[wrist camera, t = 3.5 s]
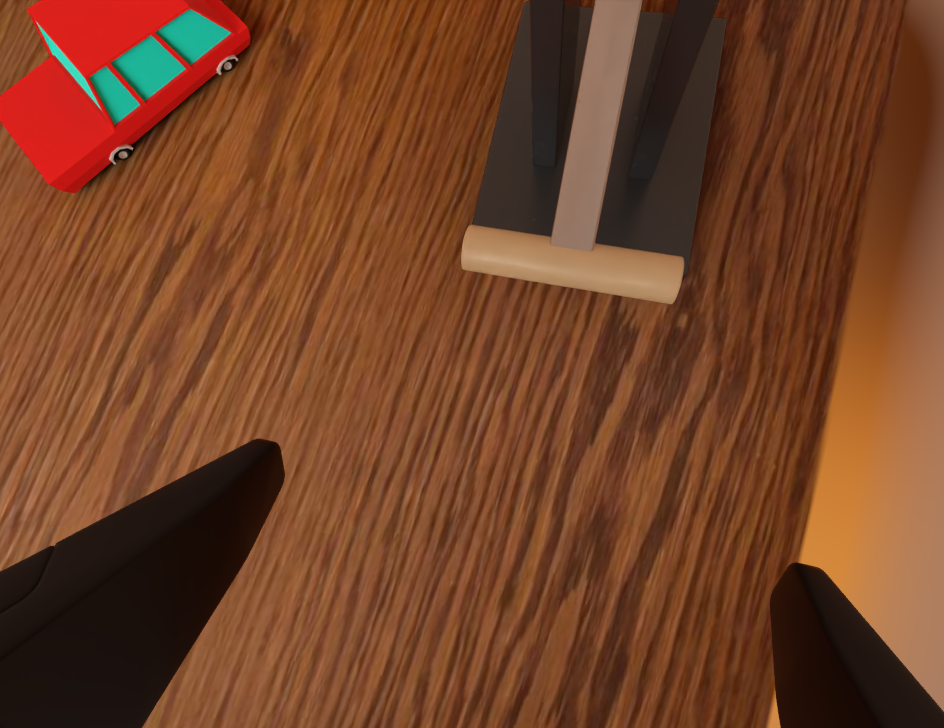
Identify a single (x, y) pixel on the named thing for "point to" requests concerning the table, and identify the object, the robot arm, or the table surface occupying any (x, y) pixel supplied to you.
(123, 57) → the toy car
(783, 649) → the robot arm
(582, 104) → the lever
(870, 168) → the table surface
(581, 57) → the bracket
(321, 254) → the table surface
